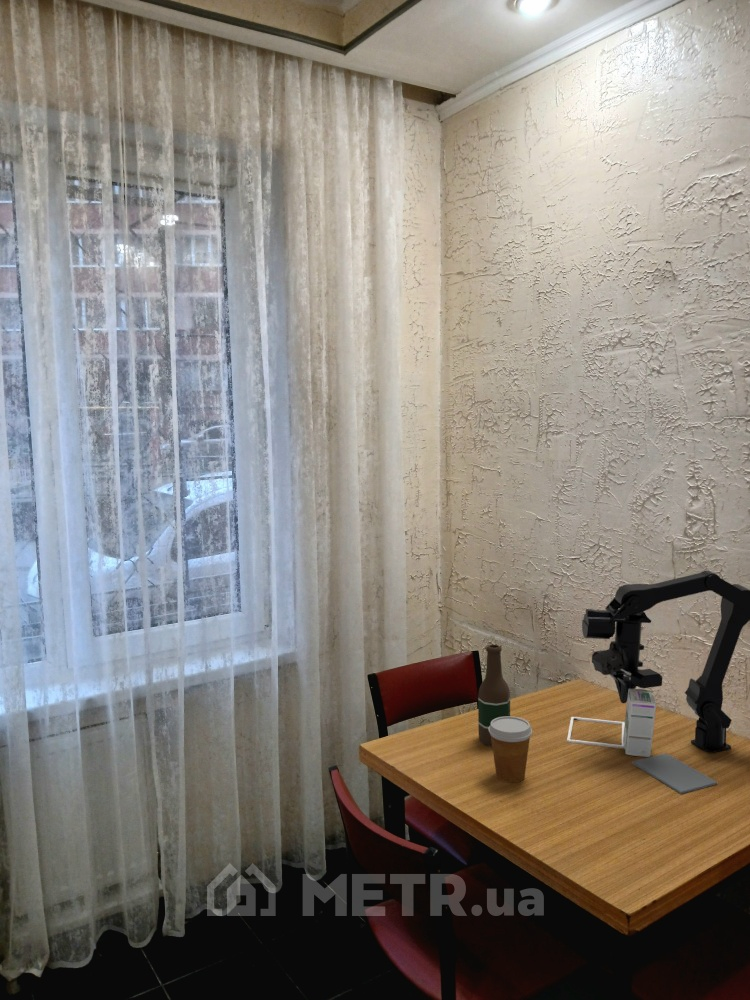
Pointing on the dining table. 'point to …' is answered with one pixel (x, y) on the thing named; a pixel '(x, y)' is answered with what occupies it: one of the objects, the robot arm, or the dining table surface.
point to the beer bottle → (492, 695)
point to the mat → (674, 773)
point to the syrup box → (639, 722)
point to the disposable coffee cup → (510, 747)
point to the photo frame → (595, 742)
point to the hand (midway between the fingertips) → (623, 702)
